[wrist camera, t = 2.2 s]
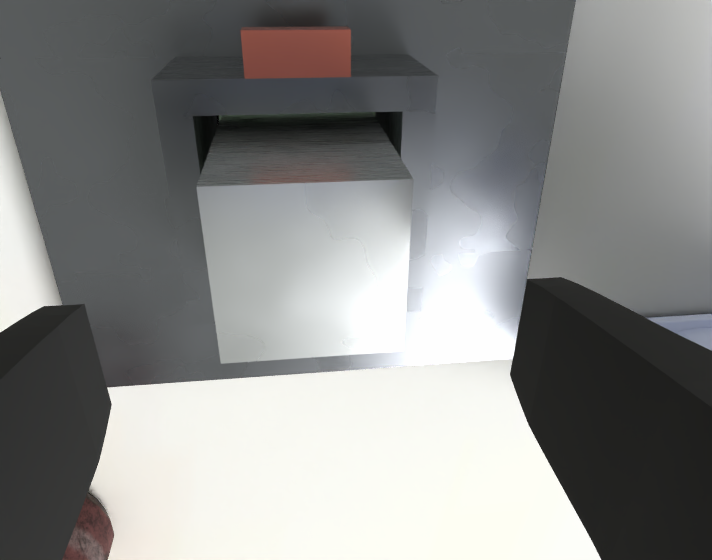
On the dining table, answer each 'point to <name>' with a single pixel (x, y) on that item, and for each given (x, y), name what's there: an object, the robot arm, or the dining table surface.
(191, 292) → the stand
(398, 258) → the column
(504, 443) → the dining table surface
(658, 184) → the dining table surface
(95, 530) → the can
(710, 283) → the dining table surface
